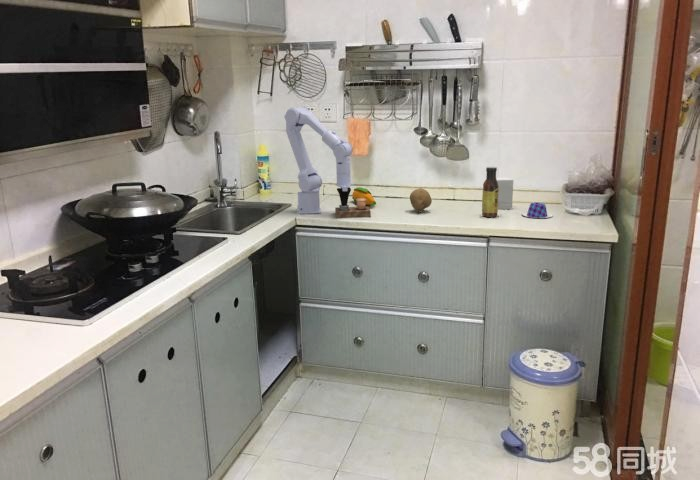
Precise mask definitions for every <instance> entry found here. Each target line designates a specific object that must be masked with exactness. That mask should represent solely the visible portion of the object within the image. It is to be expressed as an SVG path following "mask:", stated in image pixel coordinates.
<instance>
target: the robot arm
mask: <svg viewBox="0 0 700 480" xmlns="http://www.w3.org/2000/svg"><path fill="white" fill-rule="evenodd" d="M284 119H285V132H286V135H287V138H288V142H289V144H290V147H291V150H292V153H293V155H294V158H295V162H296V163H297V164H296V165H297V167H298V170H299V172H298V174H297V179H298V188H299V189H300V191H298V192H297V209H298V215H304V214H305V215H306V214H321V213H322V210H321V204H320V203H321V202H320V201H321V200H320V199H321V198H320V189H321V187H322V186H323V180H322V177H321V176H320V175H319V173H318V170H317V169H315V168H314V167H313V166H312V163H311V160H310V157H309V154H308V151H307V148H306V145H305V142H304V140H303V137H302V134H301V131H302V129H303V127H304V126H305V125H307V126H309V127H310V128H311V129H313V130H314V131H315V132H316V133H317V134H318V135H320V136H321V140H322V142H323V143H324V144H325V145H326V146H327V147H328V148H330V149H331V150H332V153H333V155H334V157H335V162H336V165H335V166H336V184H335V185H336V187H338V188H336V190H337V193H338V195H339V200H340V205H342V206H347V205H348V201H349V196H350V193H351V191H352V189H351V186H354V182H352V176H351V175H352V174H351V155H352V154H353V149H354V148H353V146H352V144H351V143H350V142H348V141H345V140H344V139H343V138H341V137H340V136H339V135H338V134H337V132H336V131H335V130H332V129H329V130H328V129H327V128H326V127H325V126H324V125H323V124H322V122H321V121H320V120H319V119H318V118H317V117H315V116H314V114H313V112H312V111H311V110H310V109H308V108H307V106H306V107H305V106H302V107H290V108H288V109H287V110H286V112H285V114H284Z"/></svg>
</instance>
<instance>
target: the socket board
mask: <svg viewBox="0 0 700 480" xmlns="http://www.w3.org/2000/svg"><path fill="white" fill-rule="evenodd" d="M334 208H335V209H334V212H335V217H336V219H347V218H349V219H350V218H351V219H352V218H353V219H354V218H356V219H357V218H371V217H372V216H371V215H372V213H371V212H372V211H371V208H370V207H369V206H365V209H364V210H358V209H357V206H349V211H340V207H334Z"/></svg>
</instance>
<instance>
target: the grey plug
mask: <svg viewBox="0 0 700 480" xmlns="http://www.w3.org/2000/svg"><path fill="white" fill-rule="evenodd" d="M339 207H340V211H349V207H350V205H349V204H347V206H342V205H341V204H339Z"/></svg>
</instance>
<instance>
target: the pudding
mask: <svg viewBox="0 0 700 480" xmlns="http://www.w3.org/2000/svg"><path fill="white" fill-rule="evenodd" d="M521 215H522V216H524V217H527V218H531V219H532V218H533V219H546V218H551V217H553V214H552V213H550V212H547V206H546V204H545V203H543V202H531V203H530V204H529V206H528V210H527V211H524V212H523V211H522V213H521Z"/></svg>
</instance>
